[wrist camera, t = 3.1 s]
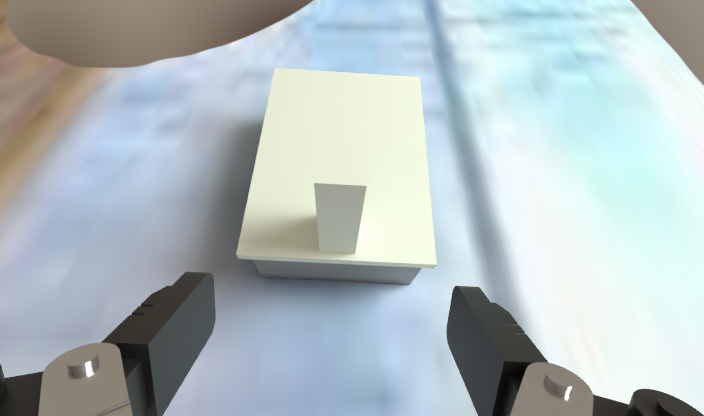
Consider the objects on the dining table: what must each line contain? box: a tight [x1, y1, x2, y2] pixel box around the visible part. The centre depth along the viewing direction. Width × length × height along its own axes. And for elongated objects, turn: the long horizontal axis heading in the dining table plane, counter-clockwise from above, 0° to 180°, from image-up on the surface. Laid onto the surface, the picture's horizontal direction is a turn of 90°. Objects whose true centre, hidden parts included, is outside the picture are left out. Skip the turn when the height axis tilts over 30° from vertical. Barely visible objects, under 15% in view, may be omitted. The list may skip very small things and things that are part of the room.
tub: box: [252, 260, 421, 284], centre depth 32 cm, size 18×13×6 cm
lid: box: [236, 68, 437, 268], centre depth 25 cm, size 19×14×11 cm
